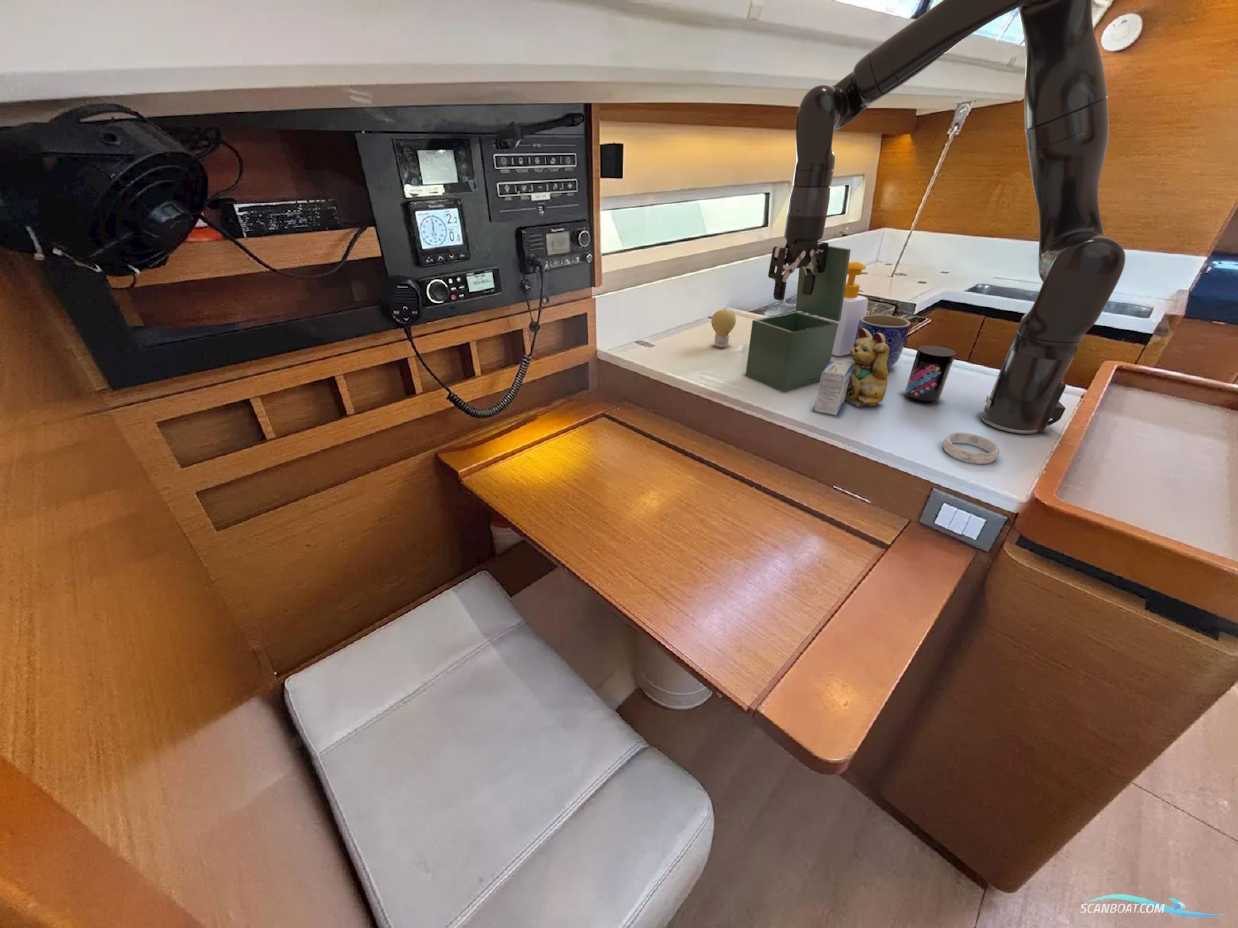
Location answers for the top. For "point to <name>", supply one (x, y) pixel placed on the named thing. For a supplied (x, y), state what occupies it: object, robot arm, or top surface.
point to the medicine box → (833, 387)
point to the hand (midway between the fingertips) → (793, 297)
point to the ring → (968, 455)
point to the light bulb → (723, 326)
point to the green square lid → (826, 286)
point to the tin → (790, 349)
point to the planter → (887, 333)
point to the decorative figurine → (868, 370)
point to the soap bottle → (849, 312)
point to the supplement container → (929, 374)
